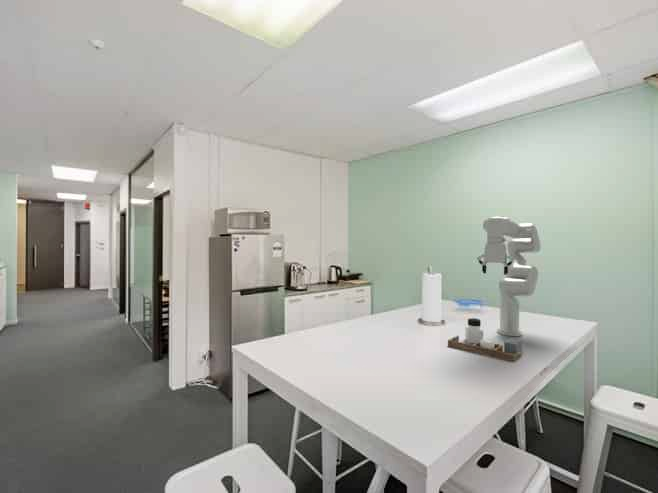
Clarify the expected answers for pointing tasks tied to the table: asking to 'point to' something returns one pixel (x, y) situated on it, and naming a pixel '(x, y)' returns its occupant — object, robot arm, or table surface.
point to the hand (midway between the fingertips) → (494, 273)
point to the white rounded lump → (487, 344)
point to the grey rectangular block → (512, 346)
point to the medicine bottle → (473, 331)
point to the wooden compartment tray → (484, 349)
